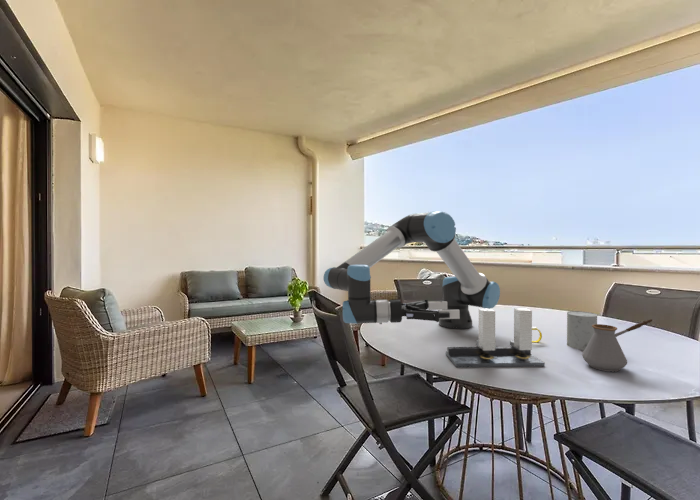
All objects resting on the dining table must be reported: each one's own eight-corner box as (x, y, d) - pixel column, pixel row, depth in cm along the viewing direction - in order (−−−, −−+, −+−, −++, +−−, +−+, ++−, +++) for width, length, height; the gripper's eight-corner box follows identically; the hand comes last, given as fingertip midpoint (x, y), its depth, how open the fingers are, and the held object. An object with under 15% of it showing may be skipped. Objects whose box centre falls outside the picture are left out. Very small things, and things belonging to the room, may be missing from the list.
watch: (526, 343, 136) (525, 328, 135) (524, 341, 138) (523, 326, 138) (543, 343, 135) (542, 327, 135) (540, 340, 138) (539, 326, 137)
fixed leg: (508, 349, 123) (508, 306, 122) (519, 348, 123) (520, 306, 122) (519, 356, 115) (519, 310, 114) (531, 356, 114) (532, 310, 114)
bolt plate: (446, 354, 123) (445, 345, 122) (525, 353, 123) (525, 344, 122) (456, 367, 111) (456, 357, 110) (544, 366, 111) (544, 356, 110)
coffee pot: (599, 374, 104) (599, 324, 103) (573, 361, 115) (574, 316, 115) (670, 373, 104) (671, 323, 103) (638, 360, 115) (638, 315, 115)
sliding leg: (474, 349, 123) (474, 306, 122) (485, 349, 123) (485, 306, 122) (483, 357, 115) (483, 311, 114) (495, 357, 115) (495, 311, 114)
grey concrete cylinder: (563, 346, 130) (564, 314, 130) (569, 341, 137) (569, 310, 137) (594, 352, 124) (595, 317, 123) (599, 346, 131) (599, 313, 130)
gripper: (385, 313, 128) (442, 312, 128) (394, 332, 104) (465, 330, 104) (384, 293, 128) (442, 292, 128) (393, 307, 103) (465, 305, 103)
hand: (452, 309), depth 116 cm, fingers open, 13 cm apart
